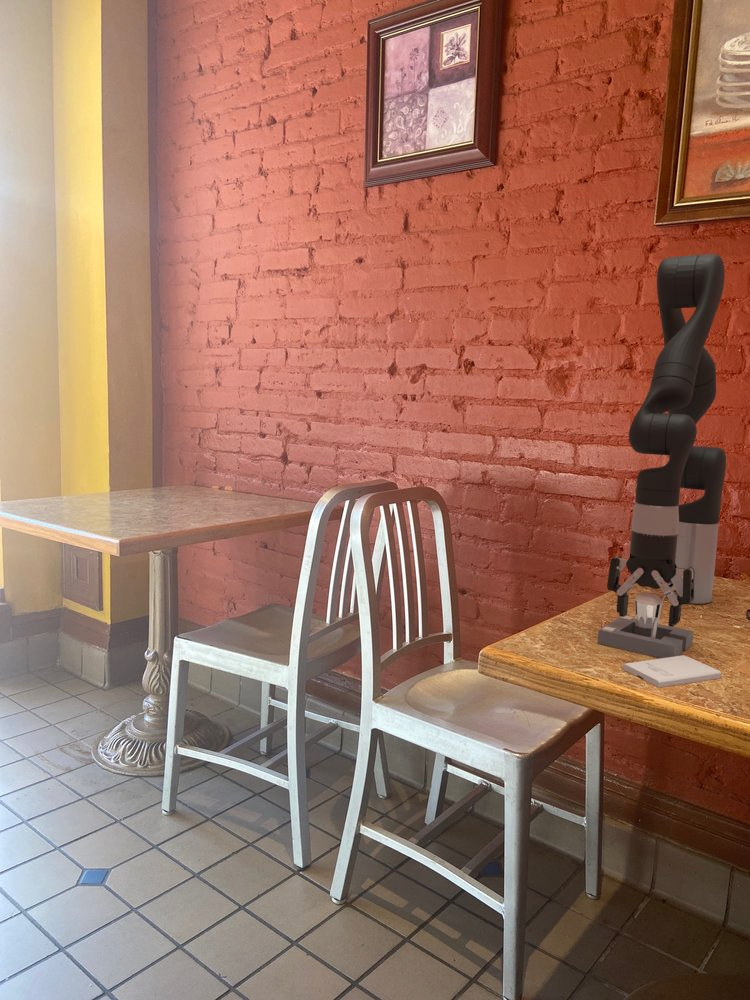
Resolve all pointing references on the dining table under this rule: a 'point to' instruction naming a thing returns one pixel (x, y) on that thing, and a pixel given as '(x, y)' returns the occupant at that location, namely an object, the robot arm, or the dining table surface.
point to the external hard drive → (672, 671)
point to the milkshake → (647, 614)
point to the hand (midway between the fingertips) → (647, 620)
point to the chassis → (645, 638)
